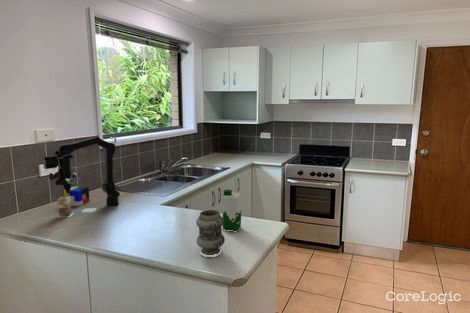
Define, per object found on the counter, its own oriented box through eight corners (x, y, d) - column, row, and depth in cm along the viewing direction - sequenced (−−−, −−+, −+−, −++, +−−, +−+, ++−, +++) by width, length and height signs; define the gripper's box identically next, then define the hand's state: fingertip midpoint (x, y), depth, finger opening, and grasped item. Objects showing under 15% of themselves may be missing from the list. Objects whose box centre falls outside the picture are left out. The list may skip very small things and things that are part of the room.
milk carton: (226, 224, 176) (226, 187, 173) (243, 227, 173) (243, 189, 170) (220, 231, 168) (219, 192, 165) (237, 233, 165) (237, 194, 161)
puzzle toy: (79, 207, 207) (78, 191, 205) (65, 206, 209) (64, 190, 207) (89, 202, 216) (88, 187, 215) (75, 201, 218) (74, 186, 217)
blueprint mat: (97, 208, 203) (97, 207, 203) (90, 217, 189) (90, 215, 188) (64, 210, 200) (64, 209, 200) (55, 218, 186) (55, 217, 186)
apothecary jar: (203, 245, 151) (202, 206, 148) (228, 248, 148) (228, 209, 145) (192, 257, 140) (191, 215, 137) (219, 260, 136) (218, 218, 134)
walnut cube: (71, 213, 193) (71, 205, 192) (68, 216, 188) (68, 207, 187) (62, 213, 192) (61, 205, 191) (59, 216, 187) (58, 208, 186)
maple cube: (71, 205, 192) (70, 196, 191) (68, 207, 187) (67, 199, 186) (61, 205, 191) (60, 197, 190) (58, 208, 186) (57, 199, 186)
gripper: (55, 164, 196) (58, 189, 198) (43, 170, 177) (46, 199, 180) (75, 163, 197) (78, 188, 200) (65, 169, 179) (68, 197, 182)
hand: (68, 193), depth 191 cm, fingers closed
